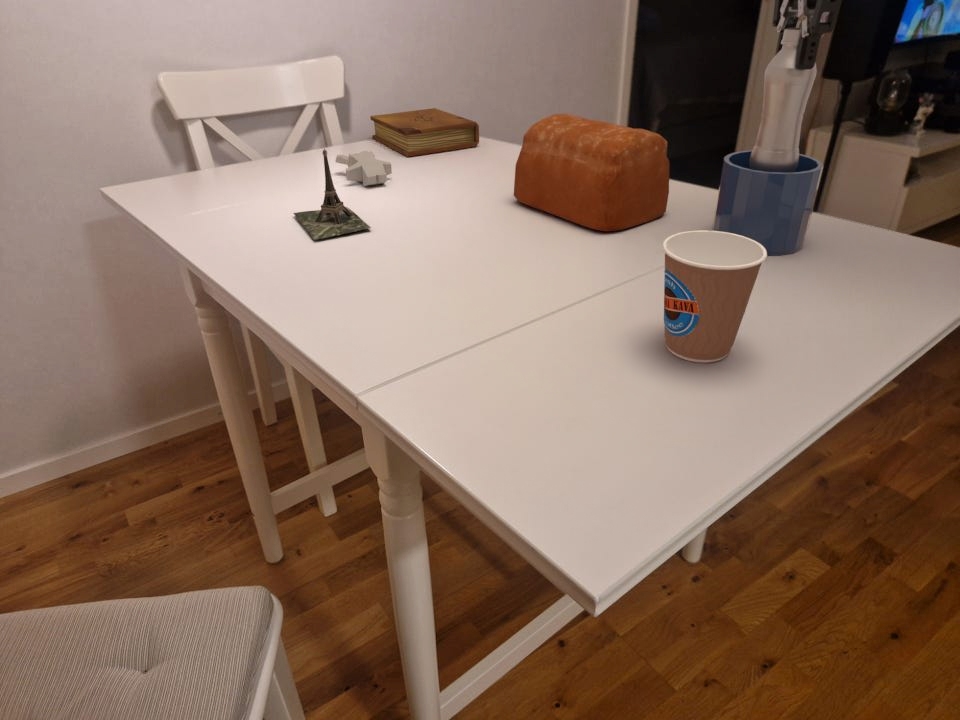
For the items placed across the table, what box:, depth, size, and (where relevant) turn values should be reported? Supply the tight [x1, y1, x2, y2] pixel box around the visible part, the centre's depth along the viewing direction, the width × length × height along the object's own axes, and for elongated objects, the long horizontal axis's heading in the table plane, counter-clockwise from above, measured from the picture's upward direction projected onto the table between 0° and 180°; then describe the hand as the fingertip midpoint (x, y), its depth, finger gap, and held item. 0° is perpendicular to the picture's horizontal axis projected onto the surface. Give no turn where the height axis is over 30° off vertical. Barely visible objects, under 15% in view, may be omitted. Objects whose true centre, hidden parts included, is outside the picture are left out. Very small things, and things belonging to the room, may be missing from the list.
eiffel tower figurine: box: [293, 143, 372, 241], centre depth 110 cm, size 15×10×13 cm
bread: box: [513, 113, 670, 232], centre depth 113 cm, size 17×24×15 cm
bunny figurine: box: [334, 150, 393, 187], centre depth 135 cm, size 10×5×15 cm
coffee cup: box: [662, 229, 768, 364], centre depth 71 cm, size 10×10×12 cm
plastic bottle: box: [749, 27, 818, 173], centre depth 92 cm, size 6×7×20 cm
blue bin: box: [711, 149, 824, 257], centre depth 99 cm, size 13×13×12 cm
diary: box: [370, 107, 480, 158], centre depth 161 cm, size 23×19×6 cm
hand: (792, 65), depth 89 cm, fingers closed on plastic bottle, 6 cm apart
